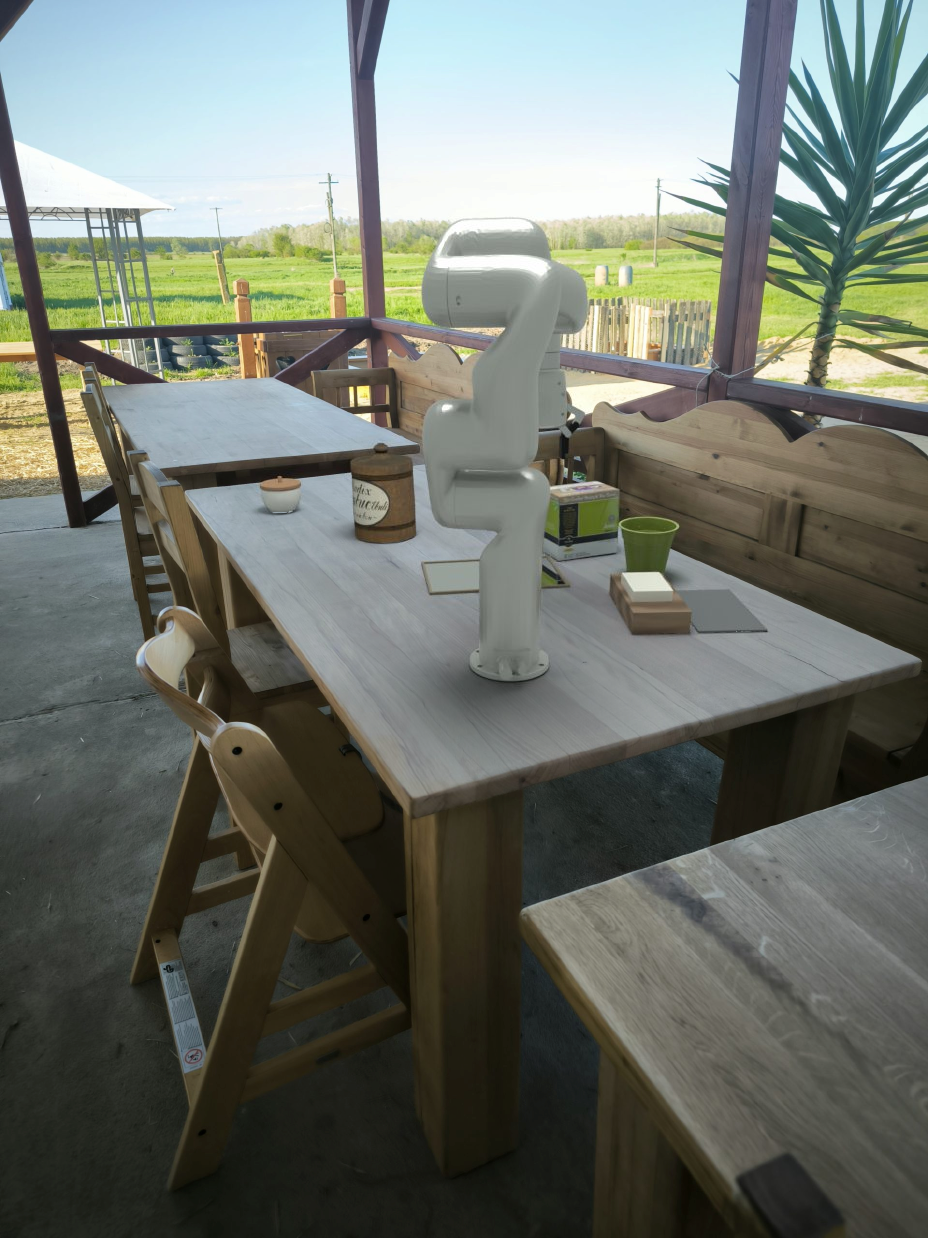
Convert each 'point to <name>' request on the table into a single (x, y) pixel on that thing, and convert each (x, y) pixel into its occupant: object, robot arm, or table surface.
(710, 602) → the mat
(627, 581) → the cream white slab
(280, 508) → the lidded jar
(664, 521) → the plant pot
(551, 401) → the robot arm
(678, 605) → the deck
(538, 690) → the table surface
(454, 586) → the picture frame
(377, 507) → the wooden container
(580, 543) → the tea box
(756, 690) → the table surface
